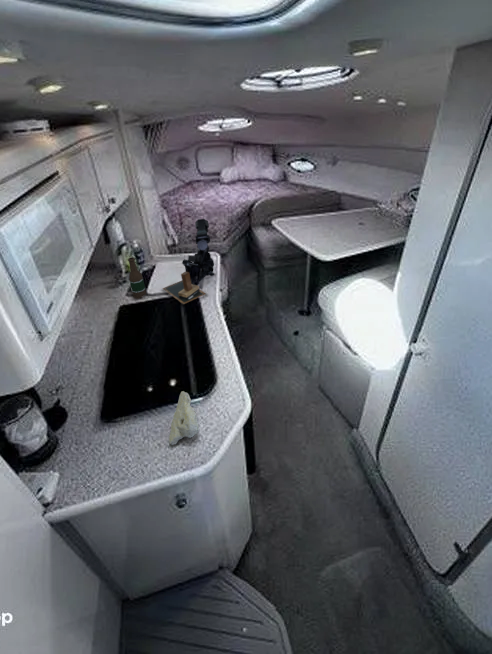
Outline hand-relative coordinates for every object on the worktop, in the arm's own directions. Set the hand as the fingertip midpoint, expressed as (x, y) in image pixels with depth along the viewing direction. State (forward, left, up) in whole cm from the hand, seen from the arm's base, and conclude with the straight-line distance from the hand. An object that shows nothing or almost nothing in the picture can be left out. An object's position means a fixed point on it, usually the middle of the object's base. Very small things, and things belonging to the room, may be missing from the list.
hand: (192, 279), depth 189 cm
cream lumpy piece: (+63, +62, -9) cm, 89 cm away
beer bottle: (+20, -25, -9) cm, 33 cm away
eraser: (+4, 0, -7) cm, 8 cm away
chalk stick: (+1, +2, -8) cm, 8 cm away
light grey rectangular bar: (+6, +3, -8) cm, 10 cm away
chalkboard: (+3, -5, -9) cm, 11 cm away
